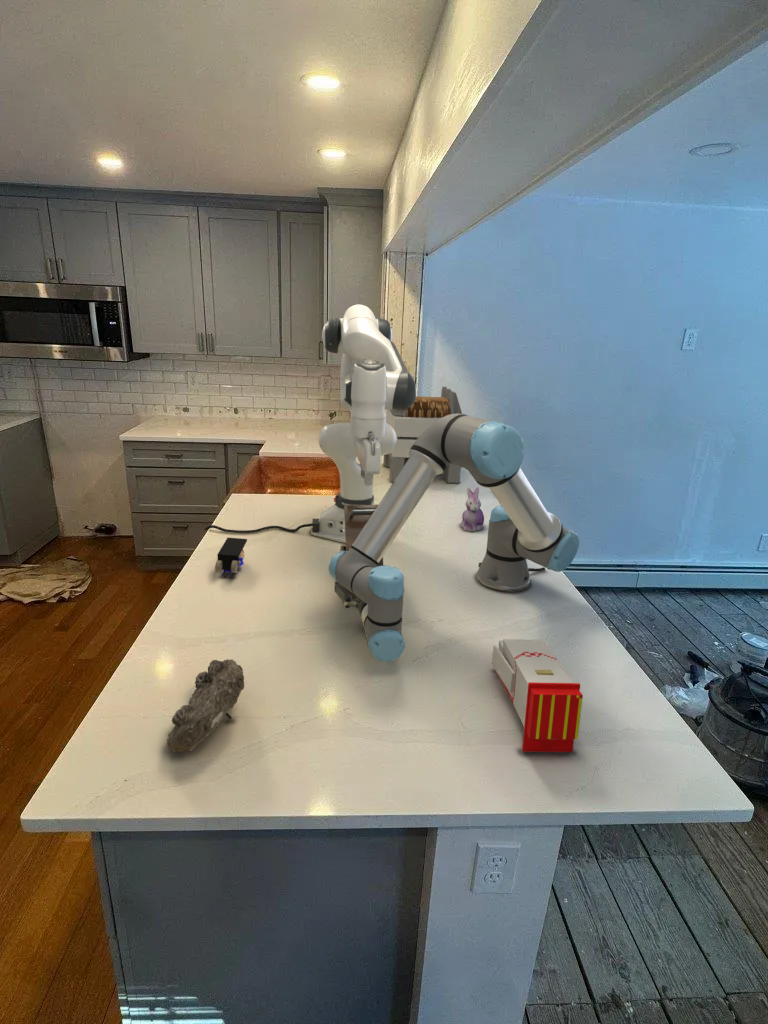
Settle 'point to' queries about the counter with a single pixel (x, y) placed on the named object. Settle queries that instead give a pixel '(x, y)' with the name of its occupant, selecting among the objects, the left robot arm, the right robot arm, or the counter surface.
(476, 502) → the figurine
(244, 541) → the black wheeled rover
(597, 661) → the counter surface
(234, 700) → the fossil
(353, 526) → the lid
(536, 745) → the toy
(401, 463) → the transformer
